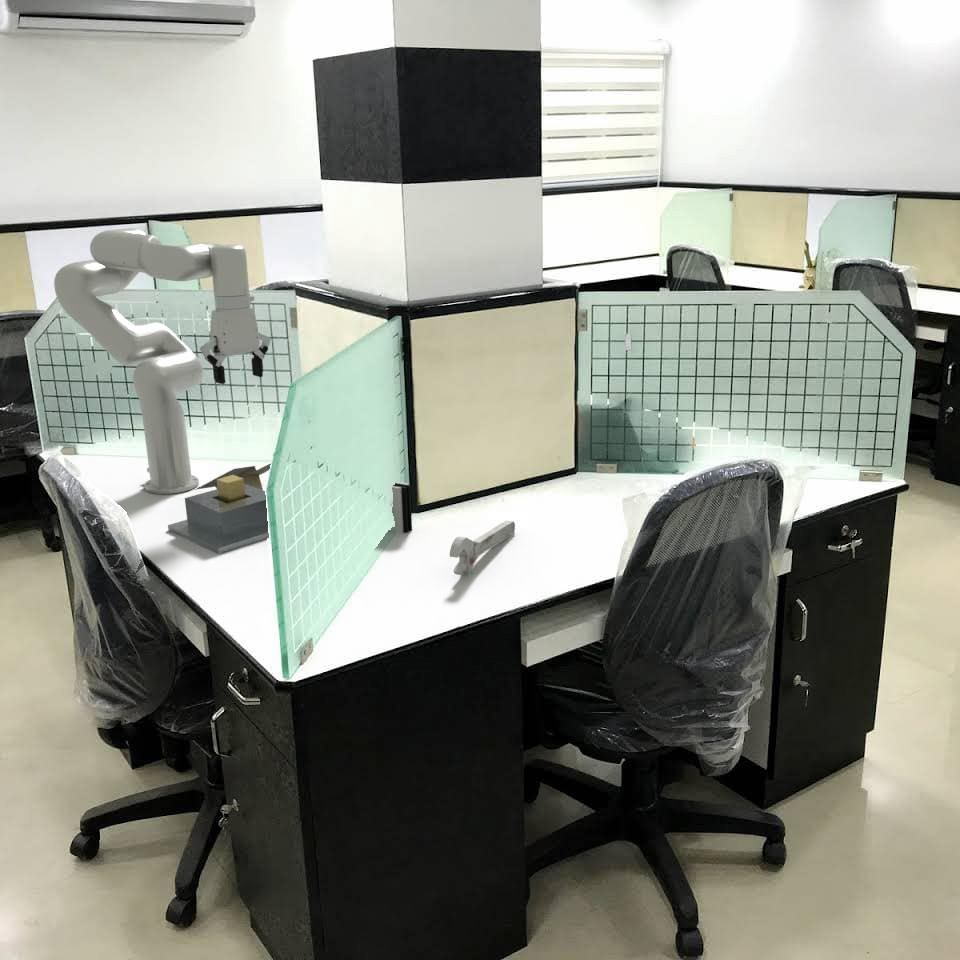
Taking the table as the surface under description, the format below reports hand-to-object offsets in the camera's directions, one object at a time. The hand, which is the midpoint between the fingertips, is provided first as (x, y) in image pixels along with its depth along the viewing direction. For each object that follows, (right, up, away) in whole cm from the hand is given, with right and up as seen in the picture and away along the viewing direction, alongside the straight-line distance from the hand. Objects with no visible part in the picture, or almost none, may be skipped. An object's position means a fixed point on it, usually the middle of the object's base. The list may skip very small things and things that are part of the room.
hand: (239, 379), depth 224 cm
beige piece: (-2, -26, +12) cm, 29 cm away
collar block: (+2, -33, -11) cm, 35 cm away
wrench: (+55, -38, -28) cm, 72 cm away
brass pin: (+2, -32, -11) cm, 34 cm away
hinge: (+33, -33, -12) cm, 48 cm away
